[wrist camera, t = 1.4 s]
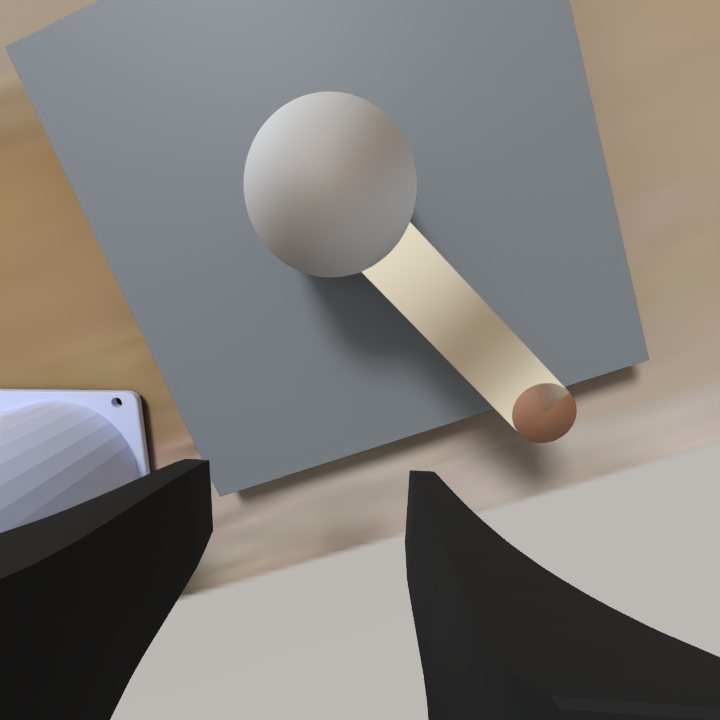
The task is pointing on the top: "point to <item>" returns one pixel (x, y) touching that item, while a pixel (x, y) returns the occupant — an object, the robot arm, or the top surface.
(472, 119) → the latch plate
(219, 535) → the top surface
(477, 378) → the grey beige handled piece
